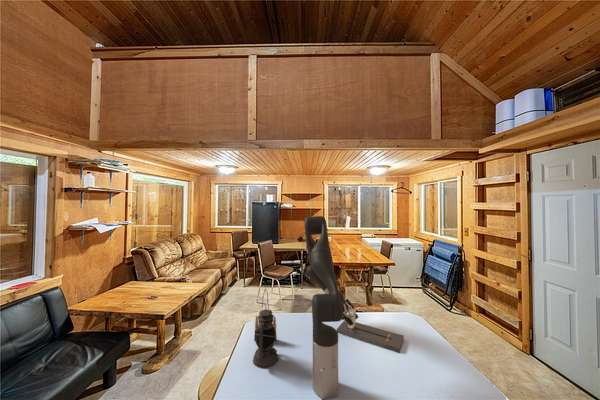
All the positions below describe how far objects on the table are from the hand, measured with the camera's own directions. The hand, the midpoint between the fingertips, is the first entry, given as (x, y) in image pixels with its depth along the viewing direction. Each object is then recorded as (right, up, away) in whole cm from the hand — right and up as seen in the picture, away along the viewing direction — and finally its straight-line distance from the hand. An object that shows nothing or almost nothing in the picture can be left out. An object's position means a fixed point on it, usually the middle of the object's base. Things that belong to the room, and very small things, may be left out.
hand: (354, 321), depth 120 cm
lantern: (-43, -5, -21) cm, 48 cm away
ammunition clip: (-45, -6, -7) cm, 46 cm away
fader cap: (-1, -3, +1) cm, 3 cm away
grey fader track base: (+6, -5, -4) cm, 9 cm away
